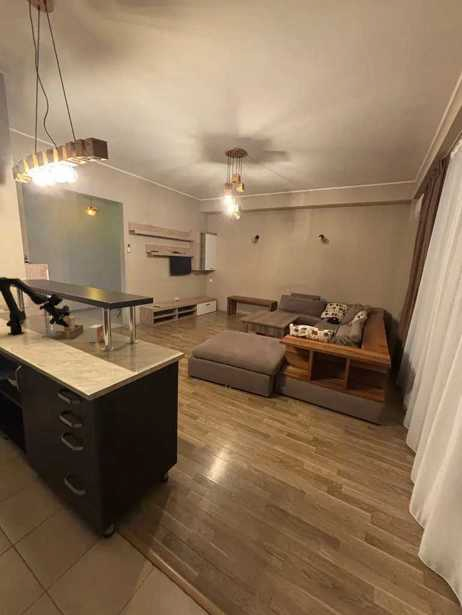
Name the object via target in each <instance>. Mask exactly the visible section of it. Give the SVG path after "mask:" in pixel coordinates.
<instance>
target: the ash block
mask: <svg viewBox="0 0 462 615" xmlns="http://www.w3.org/2000/svg"><path fill="white" fill-rule="evenodd" d="M64 321H65V322H66V323H67V324H68V326H69V327H65V326H63V331H72V330H74V329H75V325H76V316H74V315H73V316H71V315H69V316H66V317H64Z"/></svg>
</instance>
